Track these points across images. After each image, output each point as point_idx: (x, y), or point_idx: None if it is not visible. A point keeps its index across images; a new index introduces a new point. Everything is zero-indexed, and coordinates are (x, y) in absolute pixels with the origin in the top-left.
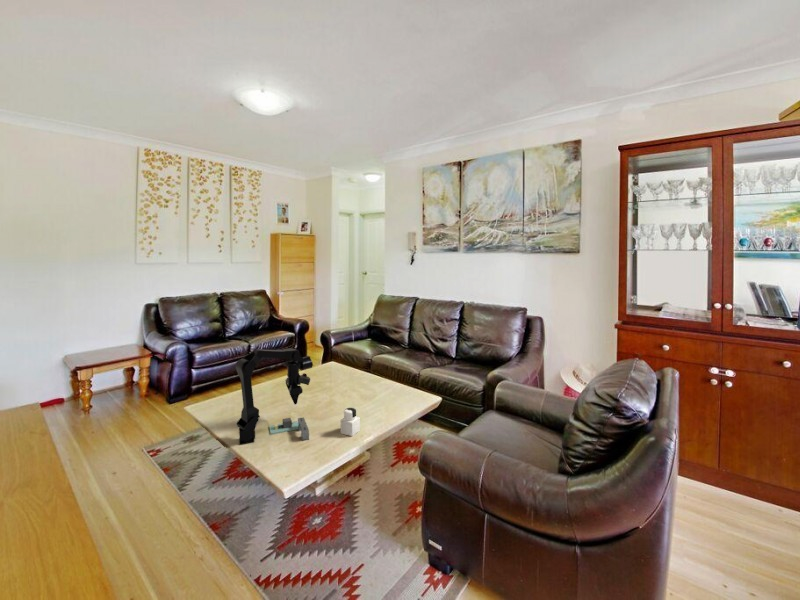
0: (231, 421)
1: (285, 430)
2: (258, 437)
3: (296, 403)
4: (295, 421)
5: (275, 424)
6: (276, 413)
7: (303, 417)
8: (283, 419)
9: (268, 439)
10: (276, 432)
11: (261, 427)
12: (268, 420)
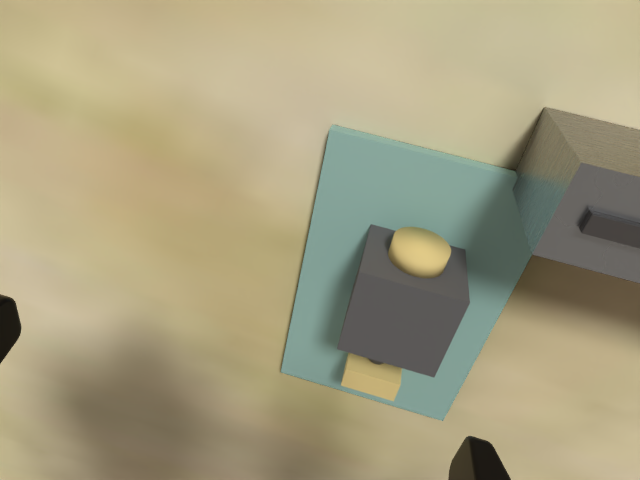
0: (74, 462)
1: (490, 324)
2: (420, 471)
3: (500, 469)
4: (341, 153)
5: (354, 384)
6: (16, 214)
7: (583, 166)
8: (358, 347)
9: (516, 451)
10: (460, 386)
11: (260, 400)
12: (150, 320)
